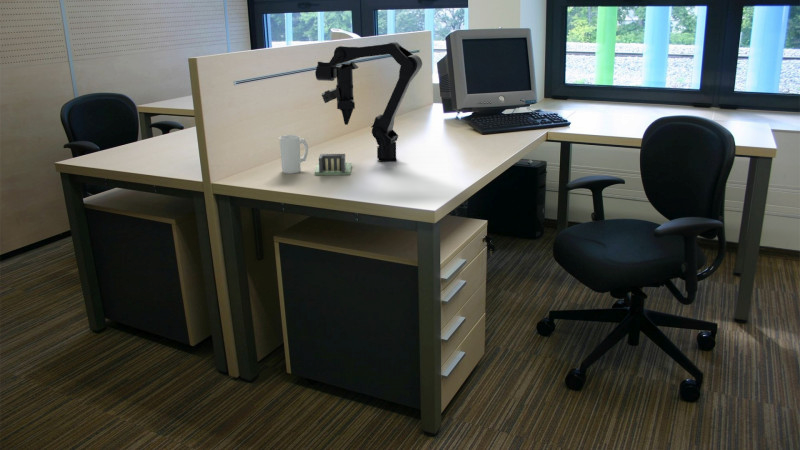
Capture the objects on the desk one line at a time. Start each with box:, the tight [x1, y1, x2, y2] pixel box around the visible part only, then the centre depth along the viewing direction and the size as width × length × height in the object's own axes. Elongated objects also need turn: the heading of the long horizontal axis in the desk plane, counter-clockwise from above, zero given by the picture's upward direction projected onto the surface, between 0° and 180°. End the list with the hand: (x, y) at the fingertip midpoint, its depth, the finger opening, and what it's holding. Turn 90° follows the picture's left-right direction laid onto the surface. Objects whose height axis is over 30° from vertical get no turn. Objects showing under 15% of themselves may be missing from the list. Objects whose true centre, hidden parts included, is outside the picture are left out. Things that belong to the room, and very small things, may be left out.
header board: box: [314, 159, 352, 176], centre depth 228 cm, size 12×12×5 cm
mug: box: [279, 134, 309, 175], centre depth 226 cm, size 10×7×12 cm, turn 124°
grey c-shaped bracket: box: [318, 153, 346, 173], centre depth 224 cm, size 6×8×5 cm
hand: (346, 124), depth 243 cm, fingers closed
